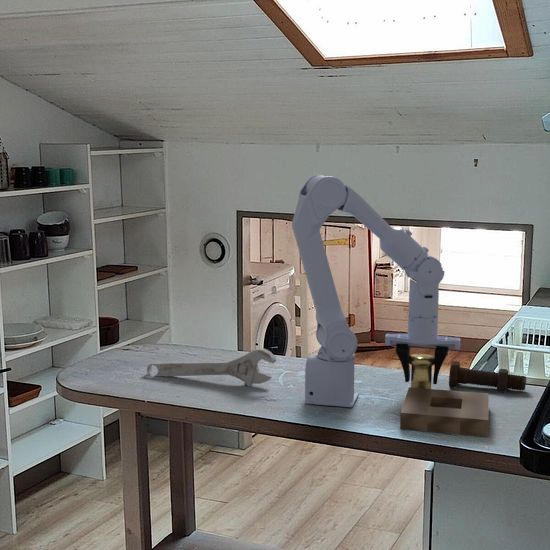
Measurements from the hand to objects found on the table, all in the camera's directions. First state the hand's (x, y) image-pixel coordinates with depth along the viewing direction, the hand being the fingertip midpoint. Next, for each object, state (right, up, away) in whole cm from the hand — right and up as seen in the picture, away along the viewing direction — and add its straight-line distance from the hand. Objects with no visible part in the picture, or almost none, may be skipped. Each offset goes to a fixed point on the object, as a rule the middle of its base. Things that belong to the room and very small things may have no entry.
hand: (421, 381), depth 158 cm
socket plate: (+2, -5, -12) cm, 14 cm away
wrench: (-43, -2, +11) cm, 44 cm away
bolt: (+14, -3, +5) cm, 15 cm away
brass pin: (0, -3, +1) cm, 3 cm away
